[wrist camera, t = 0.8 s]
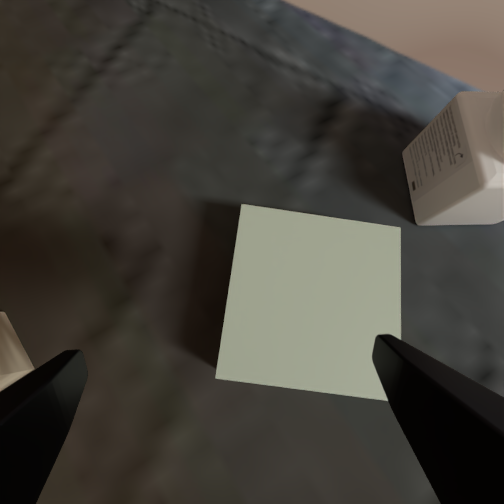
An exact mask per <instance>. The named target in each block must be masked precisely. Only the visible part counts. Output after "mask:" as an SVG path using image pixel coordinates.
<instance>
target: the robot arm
mask: <svg viewBox="0 0 504 504" xmlns="http://www.w3.org/2000/svg"><path fill="white" fill-rule="evenodd" d="M372 361H373V364H374V367H375V369H376V372H377V374H378V377H379V379H380V382H381V384H382V387H383V389H384V392H385V394H386V397H387V399H388V402H389V404H390V406H391V409H392V411H393V413H394V415H395V417H396V419H397V421H398V422H399V424H400V426H401V428H402V430H403V432H404V434H405V436H406V438H407V440H408V442H409V444H410V446H411V447H412V449H413V451H414V453H415V455H416V457H417V459H418V461H419V463H420V465H421V467H422V469H423V470H424V472H425V474H426V476H427V478H428V480H429V482H430V484H431V486H432V488H433V490H434V492H435V494H436V495H437V497H438V499H439V501H440V503H441V504H504V397H502V396H500V395H499V394H497V393H495V392H493V391H491V390H490V389H488V388H486V387H484V386H483V385H481V384H479V383H477V382H475V381H474V380H472V379H470V378H468V377H466V376H465V375H463V374H461V373H459V372H457V371H456V370H454V369H452V368H450V367H449V366H447V365H445V364H443V363H441V362H440V361H438V360H436V359H434V358H432V357H431V356H429V355H427V354H425V353H423V352H422V351H420V350H418V349H416V348H414V347H413V346H411V345H409V344H407V343H406V342H404V341H402V340H400V339H398V338H397V337H395V336H393V335H391V334H378V335H377V336H376V337H375V341H374V347H373V352H372ZM87 377H88V371H87V367H86V363H85V359H84V355H83V352H82V351H81V350H66V351H64V352H62V353H60V354H59V355H57V356H56V357H54V358H53V359H51V360H50V361H48V362H46V363H45V364H43V365H42V366H40V367H39V368H37V369H36V370H34V371H32V372H31V373H29V374H28V375H26V376H25V377H23V378H22V379H20V380H18V381H17V382H15V383H14V384H12V385H11V386H9V387H7V388H6V389H4V390H3V391H1V392H0V504H36V502H37V500H38V498H39V496H40V494H41V491H42V489H43V487H44V485H45V483H46V481H47V478H48V476H49V474H50V472H51V470H52V468H53V465H54V463H55V461H56V459H57V457H58V454H59V452H60V450H61V448H62V446H63V444H64V441H65V439H66V437H67V434H68V432H69V430H70V427H71V424H72V421H73V419H74V416H75V413H76V410H77V407H78V404H79V401H80V398H81V395H82V392H83V389H84V386H85V384H86V381H87Z"/></svg>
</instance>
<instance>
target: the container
mask: <svg viewBox="0 0 504 504" xmlns="http://www.w3.org/2000/svg"><path fill="white" fill-rule="evenodd" d="M402 155H403V160H404V165H405V170H406V176H407V181H408V186H409V191H410V196H411V201H412V206H413V211H414V217H415V222H416V224H417V225H420V226H421V225H477V224H496V223H498V222H501V221H503V220H504V90H503V91H502V92H467V91H462V92H460V93H458V94H457V95H456V96H455V97H454V98H453V99H452V100H451V101H450V102H449V103H448V104H447V106H446V107H445V108H444V109H443V110H442V111H441V112H440V113H439V114H438V115H437V116H436V117H435V118H434V119H433V120H432V121H431V122H430V123H429V124H428V125H427V126H426V128H425V129H424V130H423V131H422V132H421V133H420V134H419V135H418V136H417V137H416V138H415V139H414V140H413V141H412V142H411V143H410V144H409V145H408V146H407V147H406V148H405V149H404V151H403V152H402Z"/></svg>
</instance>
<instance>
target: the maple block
mask: <svg viewBox="0 0 504 504" xmlns="http://www.w3.org/2000/svg"><path fill="white" fill-rule="evenodd" d="M33 369H34V367H33V365H32V363H31V361H30V359H29V357H28V355H27V354H26V352H25V350H24V348H23V346H22V344H21V342H20V340H19V338H18V336H17V334H16V333H15V331H14V329H13V327H12V325H11V323H10V321H9V319H8V317H7V315H6V314H5V312H0V391H1V390H3V389H4V388H6V387H7V386H9V385H10V384H12V383H14V382H15V381H17V380H18V379H20V378H21V377H23V376H24V375H26V374H27V373H29V372H30V371H32V370H33Z"/></svg>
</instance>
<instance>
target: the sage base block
mask: <svg viewBox="0 0 504 504" xmlns="http://www.w3.org/2000/svg"><path fill="white" fill-rule="evenodd" d="M378 334H391V335H393V336H395V337H397V338H398V339H400V340H401V228H400V227H393V226H386V225H380V224H373V223H366V222H359V221H353V220H346V219H339V218H333V217H326V216H319V215H312V214H306V213H299V212H292V211H285V210H279V209H272V208H265V207H259V206H252V205H245V204H242V205H241V212H240V218H239V225H238V232H237V238H236V245H235V251H234V258H233V265H232V271H231V278H230V284H229V291H228V297H227V304H226V311H225V317H224V324H223V330H222V337H221V344H220V350H219V357H218V363H217V370H216V377H215V378H216V379H224V380H232V381H239V382H247V383H255V384H262V385H270V386H278V387H286V388H293V389H301V390H309V391H316V392H324V393H332V394H339V395H347V396H355V397H363V398H370V399H378V400H386V401H388V399H387V397H386V394H385V392H384V389H383V387H382V384H381V382H380V379H379V377H378V374H377V372H376V369H375V367H374V364H373V361H372V352H373V347H374V341H375V337H376V336H377V335H378Z"/></svg>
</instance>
